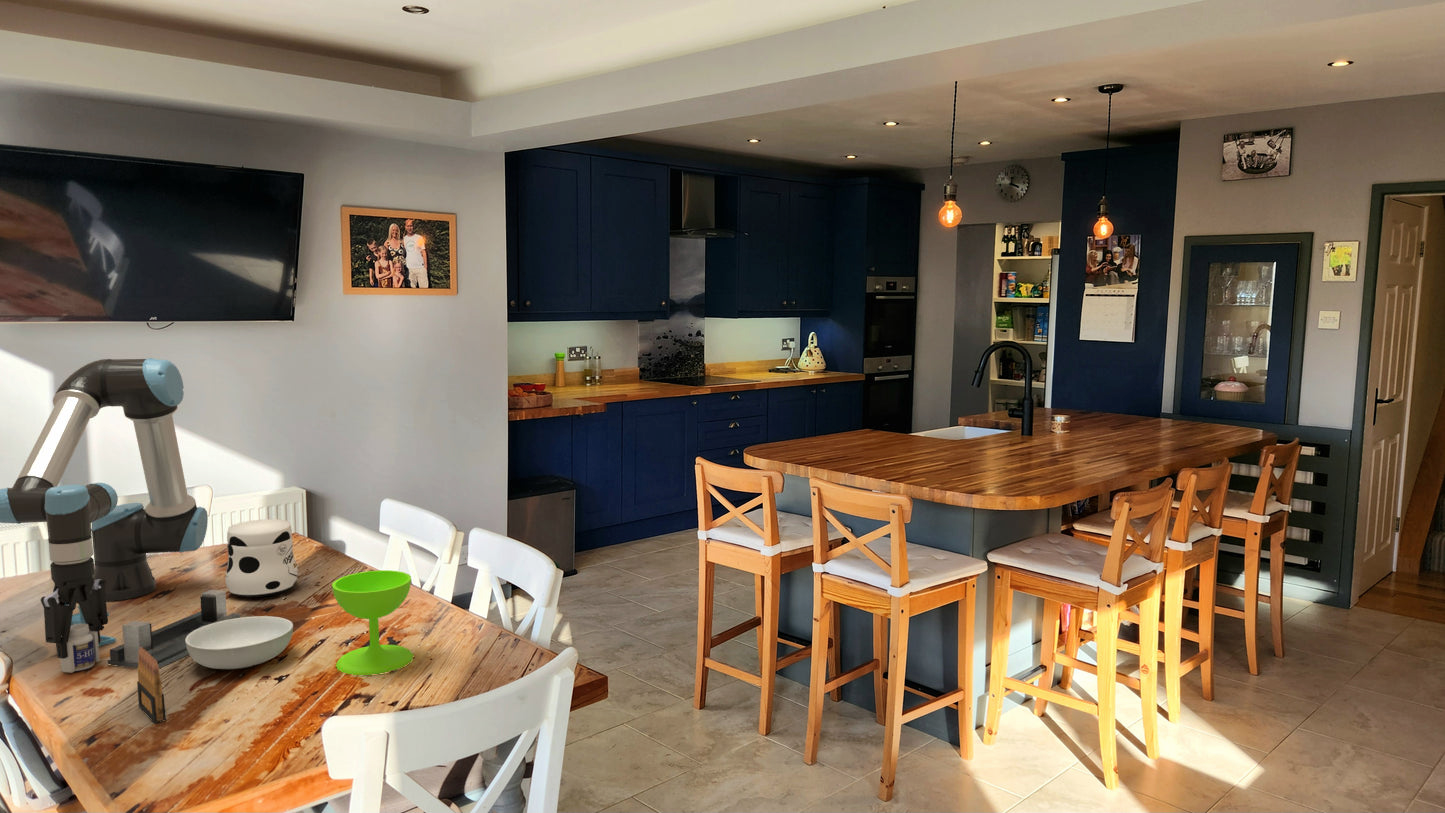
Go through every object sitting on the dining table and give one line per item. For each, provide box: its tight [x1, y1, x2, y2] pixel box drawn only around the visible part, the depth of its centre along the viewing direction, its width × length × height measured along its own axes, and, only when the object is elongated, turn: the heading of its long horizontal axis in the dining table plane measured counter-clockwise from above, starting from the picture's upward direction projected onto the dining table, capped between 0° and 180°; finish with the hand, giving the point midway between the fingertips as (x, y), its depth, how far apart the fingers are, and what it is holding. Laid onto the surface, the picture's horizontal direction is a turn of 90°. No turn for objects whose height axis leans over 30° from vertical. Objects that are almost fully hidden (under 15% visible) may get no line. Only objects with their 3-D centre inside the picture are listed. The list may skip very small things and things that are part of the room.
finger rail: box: [107, 589, 241, 669], centre depth 215 cm, size 26×12×9 cm, turn 166°
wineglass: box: [331, 569, 414, 675], centre depth 206 cm, size 16×16×18 cm
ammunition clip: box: [136, 647, 167, 724], centre depth 180 cm, size 11×2×12 cm, turn 45°
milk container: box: [224, 518, 299, 598], centre depth 253 cm, size 17×17×18 cm
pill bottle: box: [68, 624, 96, 672], centre depth 202 cm, size 5×5×9 cm
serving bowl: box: [185, 615, 294, 670], centre depth 206 cm, size 21×21×7 cm
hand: (80, 665), depth 202 cm, fingers closed on pill bottle, 5 cm apart
